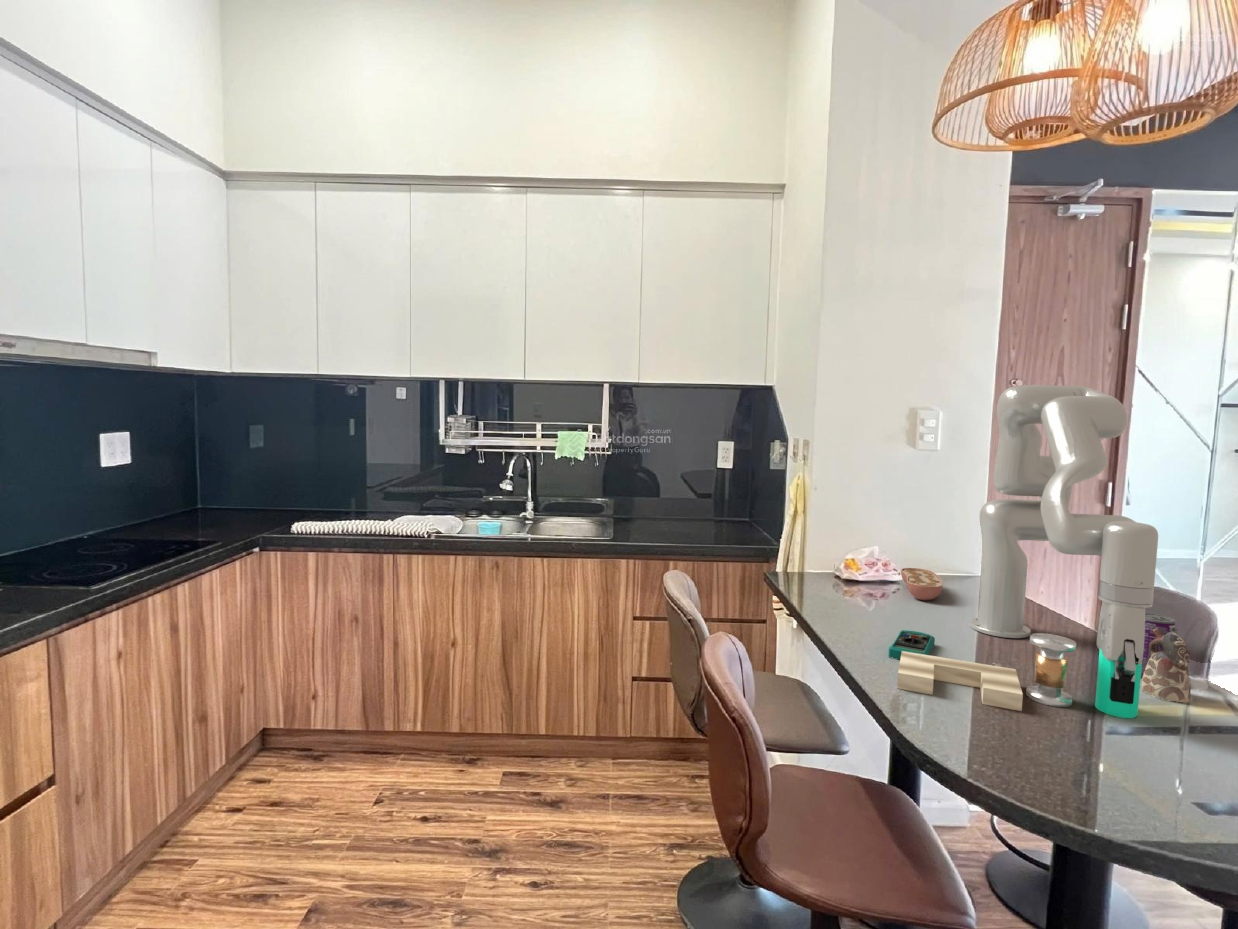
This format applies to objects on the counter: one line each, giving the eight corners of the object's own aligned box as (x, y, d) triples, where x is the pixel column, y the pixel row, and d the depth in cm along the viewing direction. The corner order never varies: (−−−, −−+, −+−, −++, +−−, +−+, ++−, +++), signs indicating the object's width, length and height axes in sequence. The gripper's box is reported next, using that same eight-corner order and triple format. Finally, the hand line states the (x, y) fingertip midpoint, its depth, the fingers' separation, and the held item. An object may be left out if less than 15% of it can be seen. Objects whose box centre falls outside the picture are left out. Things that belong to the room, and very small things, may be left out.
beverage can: (1163, 672, 135) (1168, 614, 134) (1180, 685, 128) (1185, 624, 127) (1122, 667, 137) (1127, 610, 136) (1136, 680, 131) (1141, 620, 130)
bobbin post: (1024, 688, 126) (1028, 631, 125) (1068, 695, 122) (1072, 637, 122) (1028, 702, 119) (1032, 642, 118) (1075, 710, 116) (1079, 649, 115)
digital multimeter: (934, 646, 149) (935, 633, 149) (925, 667, 136) (926, 653, 136) (899, 640, 153) (900, 627, 153) (887, 659, 140) (888, 646, 140)
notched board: (901, 665, 136) (901, 651, 136) (1014, 684, 127) (1015, 669, 127) (897, 688, 124) (897, 672, 124) (1021, 711, 115) (1022, 694, 115)
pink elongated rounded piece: (898, 582, 205) (899, 566, 205) (933, 585, 202) (934, 569, 202) (907, 602, 183) (908, 584, 183) (947, 606, 180) (948, 588, 180)
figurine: (1176, 705, 119) (1182, 640, 118) (1132, 690, 126) (1137, 628, 125) (1199, 699, 122) (1204, 635, 121) (1155, 684, 129) (1160, 623, 128)
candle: (1139, 721, 112) (1145, 652, 111) (1096, 712, 116) (1101, 645, 115) (1135, 708, 117) (1140, 642, 117) (1093, 700, 121) (1098, 635, 120)
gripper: (1089, 580, 124) (1082, 675, 126) (1110, 602, 109) (1101, 710, 110) (1139, 585, 121) (1131, 683, 122) (1167, 609, 106) (1158, 720, 107)
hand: (1117, 694), depth 116 cm, fingers closed on candle, 4 cm apart
